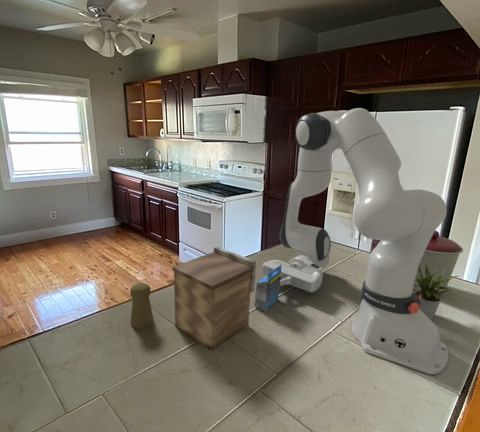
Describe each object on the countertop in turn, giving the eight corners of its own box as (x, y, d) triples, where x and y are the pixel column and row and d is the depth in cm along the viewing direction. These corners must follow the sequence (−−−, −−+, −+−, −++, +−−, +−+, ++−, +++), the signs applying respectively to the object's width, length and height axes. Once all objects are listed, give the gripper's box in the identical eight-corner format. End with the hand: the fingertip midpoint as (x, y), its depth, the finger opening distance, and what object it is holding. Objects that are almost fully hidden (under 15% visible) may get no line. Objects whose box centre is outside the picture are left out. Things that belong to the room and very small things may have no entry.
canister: (432, 304, 100) (446, 242, 94) (383, 280, 115) (393, 226, 109) (463, 292, 108) (477, 235, 103) (413, 271, 123) (423, 220, 118)
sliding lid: (254, 290, 84) (255, 261, 82) (211, 314, 72) (212, 281, 70) (216, 273, 93) (216, 246, 91) (173, 292, 81) (172, 262, 79)
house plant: (382, 305, 98) (391, 256, 94) (412, 296, 104) (421, 251, 100) (425, 331, 86) (437, 277, 82) (456, 320, 92) (469, 269, 87)
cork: (125, 324, 84) (123, 287, 81) (142, 313, 89) (140, 278, 86) (142, 331, 82) (140, 293, 79) (158, 319, 87) (156, 283, 84)
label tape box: (268, 295, 101) (270, 260, 98) (279, 299, 99) (282, 263, 96) (254, 307, 94) (256, 270, 91) (265, 312, 92) (268, 274, 89)
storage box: (248, 325, 86) (251, 271, 81) (211, 350, 75) (212, 290, 71) (212, 305, 94) (213, 256, 90) (175, 326, 84) (174, 271, 80)
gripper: (275, 252, 115) (251, 263, 104) (327, 269, 102) (305, 284, 92) (274, 268, 116) (250, 280, 106) (325, 287, 103) (304, 303, 93)
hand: (276, 282), depth 99 cm, fingers closed
